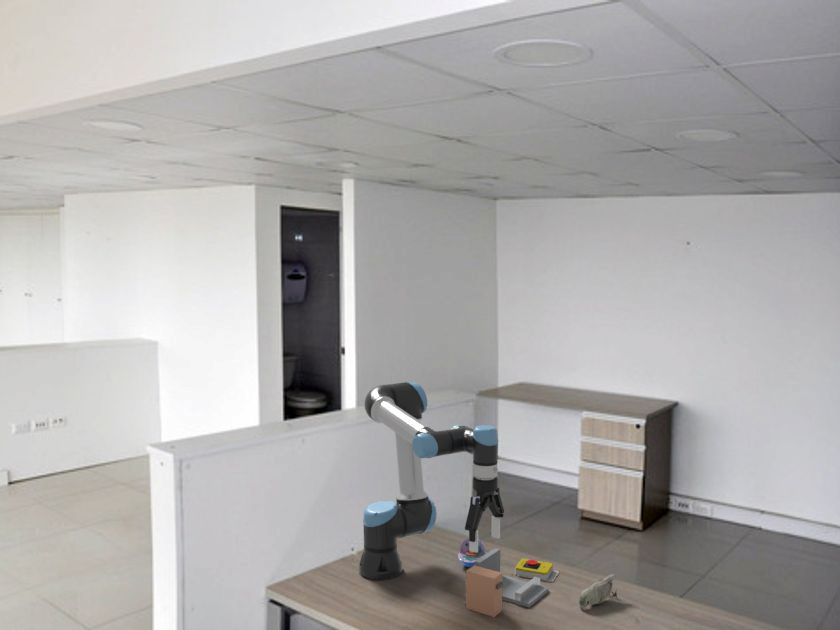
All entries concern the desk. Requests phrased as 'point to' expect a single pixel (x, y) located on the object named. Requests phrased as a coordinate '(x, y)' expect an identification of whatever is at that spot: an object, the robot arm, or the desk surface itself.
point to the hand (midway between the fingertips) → (484, 544)
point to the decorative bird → (597, 592)
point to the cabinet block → (484, 590)
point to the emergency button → (536, 570)
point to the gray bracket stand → (509, 580)
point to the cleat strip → (527, 589)
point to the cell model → (470, 553)
